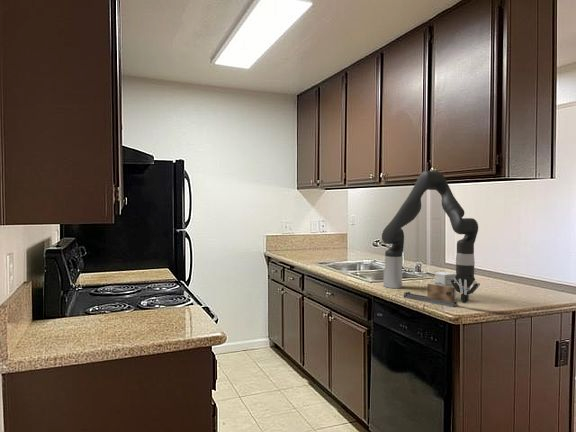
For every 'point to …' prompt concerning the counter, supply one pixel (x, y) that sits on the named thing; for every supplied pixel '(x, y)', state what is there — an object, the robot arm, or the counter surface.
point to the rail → (429, 299)
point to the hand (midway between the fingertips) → (464, 302)
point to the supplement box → (445, 280)
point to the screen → (440, 292)
